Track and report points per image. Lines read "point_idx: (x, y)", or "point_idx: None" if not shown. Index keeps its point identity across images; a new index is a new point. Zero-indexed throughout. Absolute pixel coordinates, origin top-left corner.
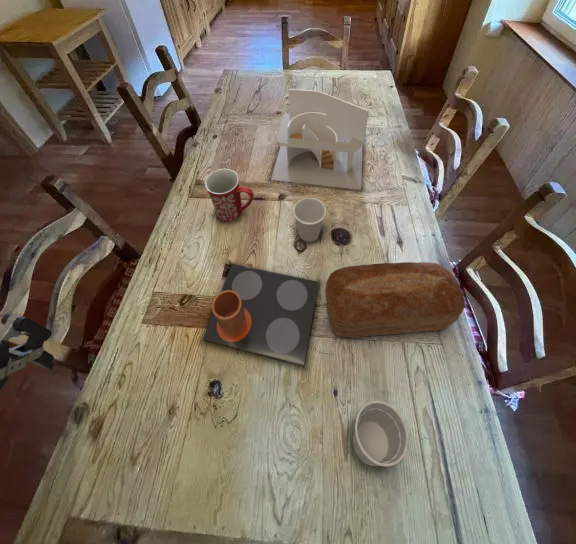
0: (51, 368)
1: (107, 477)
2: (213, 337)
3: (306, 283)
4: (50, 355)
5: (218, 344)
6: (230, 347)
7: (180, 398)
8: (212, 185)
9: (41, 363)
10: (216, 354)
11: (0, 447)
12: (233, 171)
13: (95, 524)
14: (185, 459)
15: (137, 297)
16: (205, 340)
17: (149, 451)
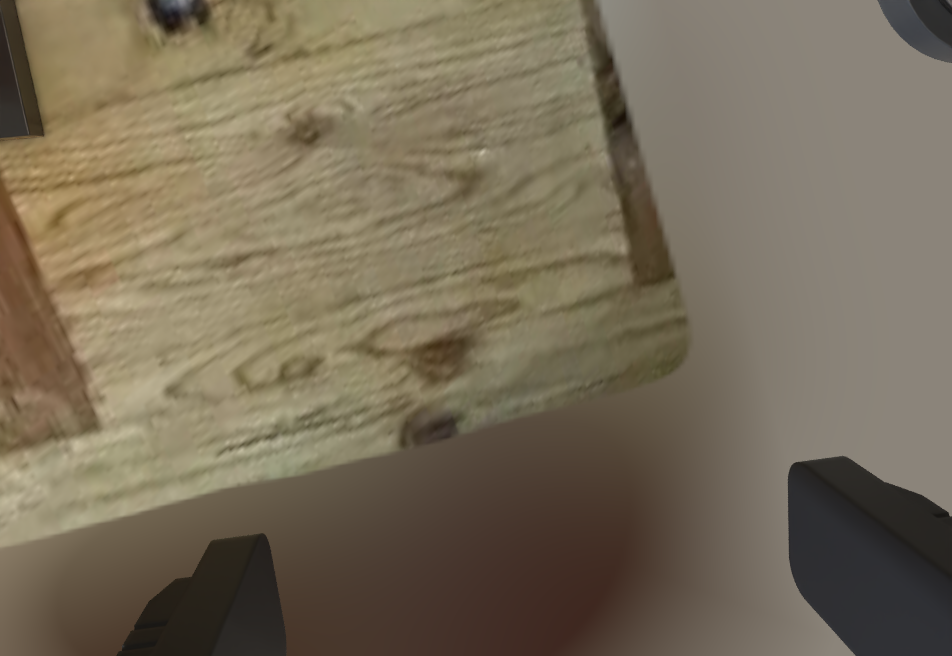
0: (250, 538)
1: (532, 236)
2: (1, 90)
3: None
4: (145, 622)
5: (23, 63)
6: (9, 3)
7: (262, 123)
8: None
9: (210, 639)
10: (66, 58)
11: (802, 465)
12: None
13: (627, 199)
14: (408, 6)
15: (22, 511)
16: (32, 124)
17: (433, 144)
